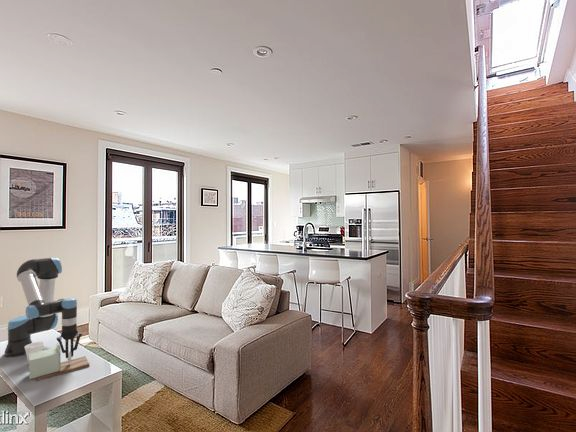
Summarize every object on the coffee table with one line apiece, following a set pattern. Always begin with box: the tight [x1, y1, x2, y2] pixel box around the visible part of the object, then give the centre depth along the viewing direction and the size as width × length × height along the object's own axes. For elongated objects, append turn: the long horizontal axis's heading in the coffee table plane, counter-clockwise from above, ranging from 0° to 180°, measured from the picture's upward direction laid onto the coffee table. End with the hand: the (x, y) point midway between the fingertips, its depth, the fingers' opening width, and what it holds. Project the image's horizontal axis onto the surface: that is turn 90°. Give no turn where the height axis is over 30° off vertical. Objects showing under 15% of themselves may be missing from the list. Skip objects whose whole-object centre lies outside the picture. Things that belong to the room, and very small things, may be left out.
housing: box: [28, 342, 61, 380], centre depth 181 cm, size 11×14×13 cm
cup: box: [24, 341, 45, 364], centre depth 196 cm, size 10×10×11 cm
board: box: [36, 356, 90, 382], centre depth 187 cm, size 14×25×4 cm, turn 132°
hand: (69, 362), depth 189 cm, fingers closed
